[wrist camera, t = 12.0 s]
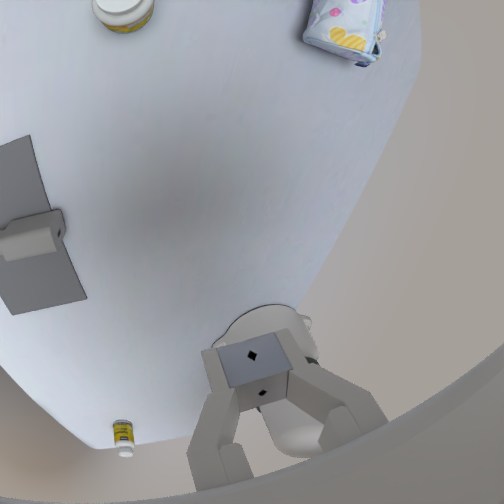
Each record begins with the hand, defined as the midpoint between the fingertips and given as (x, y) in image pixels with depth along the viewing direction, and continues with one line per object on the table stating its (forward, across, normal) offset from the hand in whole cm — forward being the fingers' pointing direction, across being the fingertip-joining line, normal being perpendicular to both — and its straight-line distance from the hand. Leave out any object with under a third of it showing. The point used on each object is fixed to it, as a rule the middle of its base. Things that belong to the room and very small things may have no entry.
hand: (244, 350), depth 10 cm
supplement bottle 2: (+29, -25, -58) cm, 70 cm away
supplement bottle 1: (+29, -3, +16) cm, 34 cm away
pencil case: (+29, +22, +19) cm, 41 cm away
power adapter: (+26, -14, -6) cm, 30 cm away
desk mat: (+29, -23, -7) cm, 38 cm away
